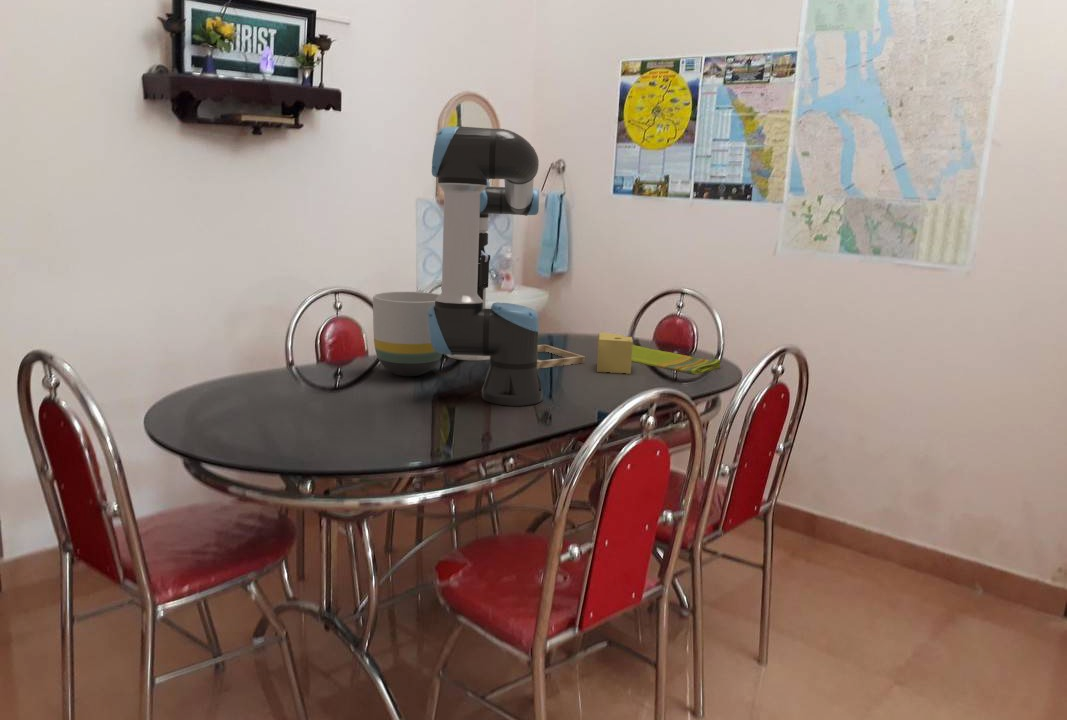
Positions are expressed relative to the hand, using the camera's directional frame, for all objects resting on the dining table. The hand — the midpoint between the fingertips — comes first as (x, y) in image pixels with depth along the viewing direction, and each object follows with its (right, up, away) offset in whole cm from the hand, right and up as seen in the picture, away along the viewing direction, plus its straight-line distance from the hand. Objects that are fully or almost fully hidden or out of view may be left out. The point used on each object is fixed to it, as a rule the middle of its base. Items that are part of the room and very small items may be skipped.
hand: (473, 309), depth 253 cm
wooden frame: (+21, -15, +1) cm, 25 cm away
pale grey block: (0, 0, 0) cm, 0 cm away
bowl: (-1, -14, +3) cm, 14 cm away
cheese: (+42, -19, -8) cm, 46 cm away
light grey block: (+19, -17, -6) cm, 26 cm away
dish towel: (+57, -16, +6) cm, 59 cm away
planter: (-16, -19, -25) cm, 35 cm away
